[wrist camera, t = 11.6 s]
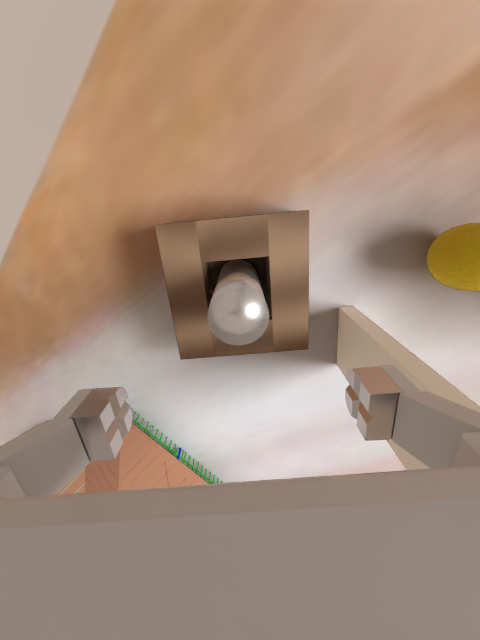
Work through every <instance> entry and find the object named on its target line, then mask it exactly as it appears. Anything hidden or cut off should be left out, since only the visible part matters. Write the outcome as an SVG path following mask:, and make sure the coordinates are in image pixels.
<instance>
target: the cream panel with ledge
mask: <svg viewBox="0 0 480 640" xmlns="http://www.w3.org/2000/svg"><path fill="white" fill-rule="evenodd" d="M389 364H391V365H394V366H395V367H396V368H397V369H399V370H400V371H401V372H402V373H403V374H404V375H405V376H406V377H407V378H408V379H409V380H410V381H411V382H412V383H413V384H414V385H415V386H416V387H417V388H418V389H419V390H420V391H427V392H430V393H432V394H435V395H437V396H440V397H442V398H445V399H447V400H450V401H452V402H455V403H457V404H460V405H462V406H465V407H467V408H470V409H472V410H475V411H477V412H480V406H478V405H477V404H476V403H475V402H473V401H472V400H471V399H470V398H468V397H467V396H466V395H465V394H463V393H462V392H461V391H460V390H458V389H457V388H456V387H455V386H453V385H452V384H451V383H450V382H448V381H447V380H446V379H444V378H443V377H442V376H441V375H439V374H438V373H437V372H436V371H434V370H433V369H432V368H431V367H429V366H428V365H427V364H426V363H424V362H423V361H422V360H421V359H419V358H418V357H417V356H416V355H414V354H413V353H412V352H410V351H409V350H408V349H407V348H405V347H404V346H403V345H402V344H400V343H399V342H398V341H397V340H395V339H394V338H393V337H392V336H390V335H389V334H388V333H387V332H385V331H384V330H383V329H382V328H380V327H379V326H378V325H376V324H375V323H374V322H373V321H371V320H370V319H369V318H368V317H366V316H365V315H364V314H363V313H361V312H360V311H359V310H358V309H356V308H355V307H354V306H349V307H339V323H338V343H337V365H338V367H339V369H340V370H341V372H342V373H343V375H344V376H345V378H346V377H347V371H348V369H353V368H363V367H373V366H380V365H389ZM387 442H388V443H389V445H390V446H391V448H392V449H393V451H394V452H395V454H396V455H397V457H398V458H399V460H400V461H401V463H402V464H403V466H404V467H405V469H406V470H418V469H430V468H429V467H428V466H426V465H425V464H423V463H422V462H421V461H419V460H418V459H417V458H415V457H414V456H412V455H411V454H410V453H408V452H407V451H406V450H404V449H403V448H401V447H400V446H399V445H397V444H396V443H395V442H393V441H392V439H390V440H387Z"/></svg>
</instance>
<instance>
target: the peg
mask: <svg viewBox="0 0 480 640" xmlns="http://www.w3.org/2000/svg"><path fill="white" fill-rule="evenodd" d="M207 318H208V324H209V327H210V329H211V331H212V332H213V334H214V335H215V336H216V337H217V338H218V339H220V340H221V341H223V342H225V343H227V344H231V345H246V344H249V343H252V342H254V341H256V340H257V339H258V338H259V337H261V336H262V334H263V333H264V332H265V330H266V328H267V326H268V323H269V311H268V307H267V304H266V301H265V298H264V294H263V291H262V288H261V285H260V282H259V279H258V275H257V272H256V270H255V269H254V267H253V266H252V265H251V264H250V263H248V262H246V261H243V260H233V261H231V262H228V263H227V264H226V265H225V266H224V267H223V268H222V269H221V271H220V274H219V277H218V280H217V284H216V287H215V290H214V293H213V296H212V299H211V303H210V306H209V309H208V315H207Z"/></svg>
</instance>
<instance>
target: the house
mask: <svg viewBox="0 0 480 640" xmlns="http://www.w3.org/2000/svg"><path fill="white" fill-rule="evenodd" d="M131 410H132V408H131ZM135 413H136V412H135ZM135 413H134V415H135ZM134 415H133V417H134ZM138 417H139V415H138ZM138 417H137V419H138ZM137 419H136V421H137ZM132 420H133V419H132ZM143 420H144V419H143ZM133 421H134V420H133ZM136 421H134V422H135V423H137V422H136ZM135 423H134V425H135ZM142 423H143V421H142ZM142 423H141V425H142ZM137 424H138V425H140V424H139V423H137ZM148 424H149V422H148ZM148 424H147V426H148ZM134 425H133V424H132V425H131V428H130V430H129V432H128V433H127V434H126V435H125V436H124V437H122V441H123V444H122V446H121V448H120V450H119V452H118V454H117V456H116V458H115V459H109V460H99V461H90V463H89V464H88V465H87V466H86V467H85V468H84V469H83V470H82V471H80V472H79V473H78V474H77V475H76V476H75V477H74V478H73V479H72V480H71V481H70V482H68V483H67V484H66V485H65V486H64V487H63V488H62V489H61V490H60V491H59V492H57V493H56V494H55V495H61V494H75V493H90V492H104V491H118V490H133V489H147V488H161V487H176V486H190V485H204V484H208V483H207V482H206V481H205V480H203V479H202V478H201V476H200V477H199V476H198V475H197V471H198V465H197V470H196V469H195V468H194V467H193V466H194V461H193V466H191V465H190V464H189V462H188V463H187V462H186V461H185V457H184V459H183V458H182V457H180V452H181V448H179V452H178V454H177V450H176V453H175V452H174V451H172V450H171V449H170V446H169V447H168V446H166V445H165V443H166V440H167V437H166V440H165V443H164V444H163V443H162V442H161V441H160V440H161V438H160V440H159V439H157V438H156V435H157V433H156V435H155V437H154V436H153V435H152V434H151V432H152V430H151V432H149V431H147V430H146V429H144V428H143V427H142V426H141V425H140V427H142V428H143V429H144V430H145V431H147V432H148V433H150V435H152V436H153V437H154V440H155V438H156V439H157V440H159V443H160V442H161V443H162V444H163V445H164V446H166V447H167V448H169V449H168V451H166V450H165V449H164V446H163V448H162V447H161V446H160V445H159V444H157V443H156V442H155V441H154V440H152V439H151V438H150V435H149V437H148V436H147V435H146V434H145V431H144V433H143V432H142V431H141V430H140V427H139V429H138V428H137V427H136V426H134ZM147 426H146V428H147ZM153 427H154V426H153ZM153 427H152V429H153ZM157 432H158V430H157ZM162 435H163V433H162ZM162 435H161V437H162ZM171 442H172V440H171ZM171 442H170V445H171ZM175 447H176V444H175ZM175 447H174V450H175ZM169 450H171V451H172V452H173V453H172V455H171V454H170V453H169ZM183 452H184V450H183ZM174 453H175V457H174V456H173V454H174ZM176 455H177V457H176ZM182 456H183V453H182ZM185 456H186V453H185ZM179 457H180V458H181V461H182V460H184V461H185V462H186V463H187V464H188V466H189V465H190V466H191V467H192V470H190V469H189V468H188V467H187V466H185V465H184V461H183V463H182V462H181V461H179ZM176 458H177V459H176ZM194 460H195V459H194ZM189 461H190V457H189ZM198 464H199V462H198ZM202 468H203V465H202ZM193 469H195V470H196V474H195V473H194V472H193ZM206 471H207V469H206ZM198 472H199V471H198ZM199 473H200V472H199ZM200 474H201V475H202V469H201V473H200ZM210 474H211V472H210ZM202 476H203V477H205V479H208V478H207V477H206V473H205V476H204V475H202ZM214 477H215V475H214ZM208 480H209V484H210V482H211V481H210V476H209V479H208ZM211 483H212V482H211ZM221 483H222V481H221ZM212 484H214V479H213V483H212ZM217 484H218V480H217Z"/></svg>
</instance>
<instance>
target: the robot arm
mask: <svg viewBox="0 0 480 640" xmlns="http://www.w3.org/2000/svg"><path fill="white" fill-rule="evenodd" d="M346 379H347V381H348V382H349V384H350V385H349V386H348V387H347V388H346V394H345V398H346V404H347V407H348V410H349V412H350V414H351V416H352V417H354V418H356V419H357V427H358V428H359V430H360V432H361V434H362V435H363V437H364V439H365V441H368V440H390V439H392V441H393V442H395V443H396V444H397V445H399V446H400V447H401V448H403V449H404V450H406V451H407V452H408V453H410V454H411V455H412V456H414V457H415V458H417V459H418V460H419V461H421V462H422V463H423V464H425V465H426V466H428V467H429V468H430V469H418V470H404V471H391V472H377V473H362V474H347V475H333V476H318V477H303V478H289V479H274V480H260V481H246V482H232V483H218V484H204V485H190V486H176V487H161V488H147V489H133V490H118V491H104V492H90V493H75V494H61V495H55V494H56V493H57V492H59V491H60V490H61V489H62V488H63V487H64V486H65V485H66V484H67V483H68V482H70V481H71V480H72V479H73V478H74V477H75V476H76V475H77V474H78V473H79V472H80V471H82V470H83V469H84V468H85V467H86V466H87V465H88V464H89V463H90V461H99V460H109V459H115V458H116V456H117V454H118V452H119V450H120V448H121V446H122V444H123V441H122V437H124V436H125V435H126V434H127V433H128V432H129V430H130V428H131V425H132V419H133V417H132V410H131V406H130V405H128V404H127V403H126V402H125V401H126V399H127V397H128V396H127V393H126V390H125V389H124V388H123V387H111V388H96V389H94V388H93V389H83V390H79V391H78V392H77V393H76V394H75V395H74V396H73V397H72V399H71V400H70V401H69V402H68V403H67V404H66V405H65V406H64V407H63V408H62V410H61V411H60V412H59V413H58V414H57V415H56V416H55V417H54V418H53V419H52V420H47V421H45V422H44V423H42V424H40V425H38V426H36V427H35V428H33V429H31V430H29V431H27V432H25V433H24V434H22V435H20V436H18V437H16V438H15V439H13V440H11V441H9V442H7V443H6V444H4V445H2V446H0V640H480V412H477V411H475V410H472V409H470V408H467V407H465V406H462V405H460V404H457V403H455V402H452V401H450V400H447V399H445V398H442V397H440V396H437V395H435V394H432V393H430V392H427V391H420V390H419V389H418V388H417V387H416V386H415V385H414V384H413V383H412V382H411V381H410V380H409V379H408V378H407V377H406V376H405V375H404V374H403V373H402V372H401V371H400V370H399V369H397V368H396V367H395V366H394V365H391V364H389V365H380V366H373V367H363V368H353V369H348V371H347V377H346Z"/></svg>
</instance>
